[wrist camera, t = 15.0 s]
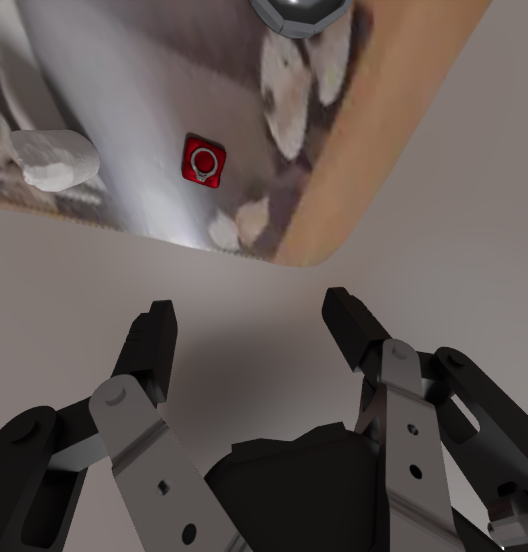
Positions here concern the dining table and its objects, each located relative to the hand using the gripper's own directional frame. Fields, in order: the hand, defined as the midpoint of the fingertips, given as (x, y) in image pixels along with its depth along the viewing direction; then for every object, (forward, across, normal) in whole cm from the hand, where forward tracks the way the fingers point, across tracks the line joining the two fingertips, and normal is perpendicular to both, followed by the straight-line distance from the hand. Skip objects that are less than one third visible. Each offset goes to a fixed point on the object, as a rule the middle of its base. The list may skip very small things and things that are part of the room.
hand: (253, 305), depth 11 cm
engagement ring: (+31, +3, -2) cm, 31 cm away
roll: (+30, +20, -3) cm, 36 cm away
